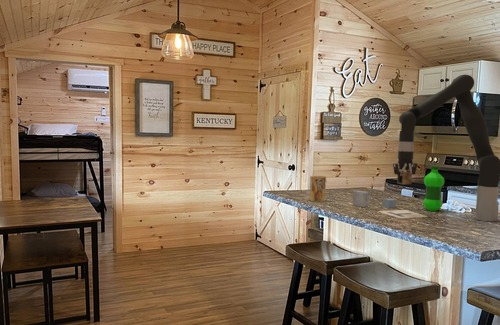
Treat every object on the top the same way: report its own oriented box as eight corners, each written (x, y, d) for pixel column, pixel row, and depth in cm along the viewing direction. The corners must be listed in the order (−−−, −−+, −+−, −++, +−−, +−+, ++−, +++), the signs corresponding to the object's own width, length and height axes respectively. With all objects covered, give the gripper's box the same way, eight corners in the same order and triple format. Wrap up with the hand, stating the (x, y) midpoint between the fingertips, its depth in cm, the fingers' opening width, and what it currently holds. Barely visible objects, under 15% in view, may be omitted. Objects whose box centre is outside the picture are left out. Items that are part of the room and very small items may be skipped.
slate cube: (390, 206, 243) (390, 198, 243) (395, 208, 239) (396, 199, 238) (382, 207, 242) (383, 198, 241) (388, 208, 237) (388, 200, 237)
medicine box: (368, 206, 242) (369, 191, 242) (364, 207, 239) (365, 192, 238) (356, 204, 248) (356, 190, 247) (352, 205, 244) (352, 191, 244)
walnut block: (405, 183, 222) (405, 171, 222) (411, 184, 218) (412, 172, 217) (397, 183, 221) (397, 172, 220) (403, 184, 216) (404, 172, 216)
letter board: (405, 210, 232) (405, 210, 232) (428, 217, 215) (428, 216, 215) (377, 212, 226) (377, 211, 226) (399, 219, 209) (399, 218, 209)
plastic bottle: (419, 210, 235) (422, 165, 233) (426, 207, 243) (429, 165, 241) (438, 212, 228) (440, 167, 226) (444, 210, 236) (447, 166, 234)
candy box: (322, 199, 263) (323, 175, 262) (325, 201, 259) (326, 176, 258) (309, 200, 261) (310, 175, 260) (311, 201, 257) (312, 176, 256)
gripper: (412, 150, 224) (410, 181, 225) (389, 150, 219) (388, 182, 220) (422, 150, 217) (420, 183, 218) (399, 150, 212) (397, 184, 213)
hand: (404, 182), depth 219 cm, fingers closed on walnut block, 5 cm apart
